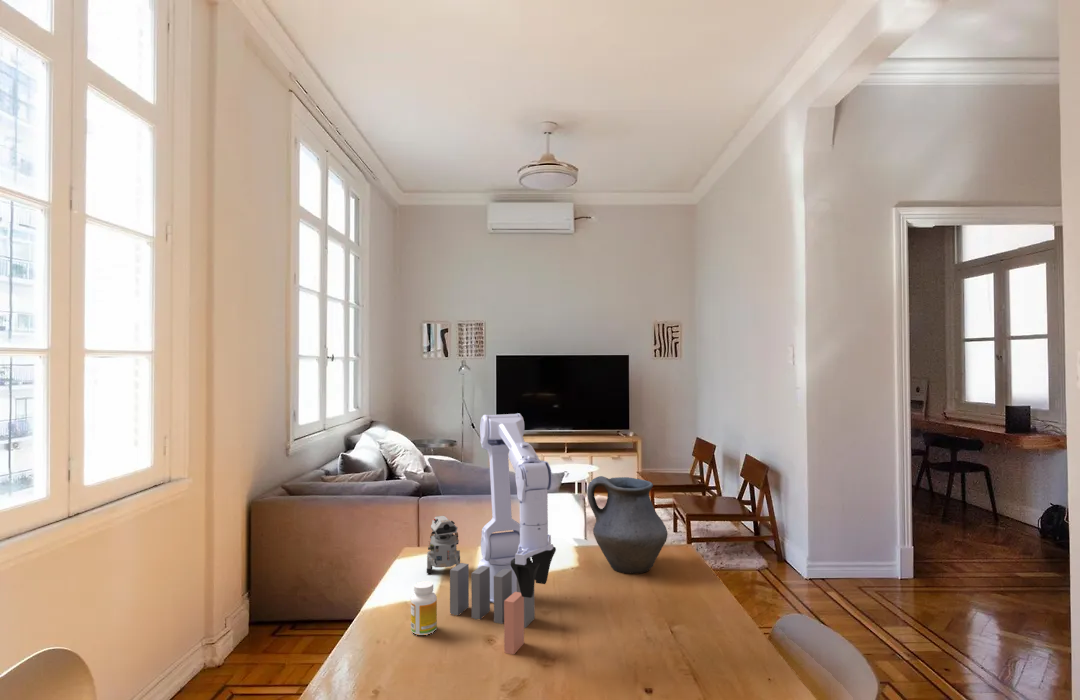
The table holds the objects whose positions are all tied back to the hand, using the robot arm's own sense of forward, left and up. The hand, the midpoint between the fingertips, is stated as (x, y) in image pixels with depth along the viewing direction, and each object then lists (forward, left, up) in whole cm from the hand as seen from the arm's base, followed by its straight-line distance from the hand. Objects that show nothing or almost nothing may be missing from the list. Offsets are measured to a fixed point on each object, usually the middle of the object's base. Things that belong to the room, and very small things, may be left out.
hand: (534, 589), depth 120 cm
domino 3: (-11, +8, -10) cm, 17 cm away
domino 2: (-16, +8, -10) cm, 21 cm away
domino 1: (-22, +8, -10) cm, 25 cm away
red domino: (-3, -4, -10) cm, 11 cm away
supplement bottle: (-24, -4, -11) cm, 26 cm away
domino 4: (-5, +8, -10) cm, 14 cm away
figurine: (-38, +27, -11) cm, 48 cm away
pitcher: (+7, +49, -11) cm, 51 cm away
